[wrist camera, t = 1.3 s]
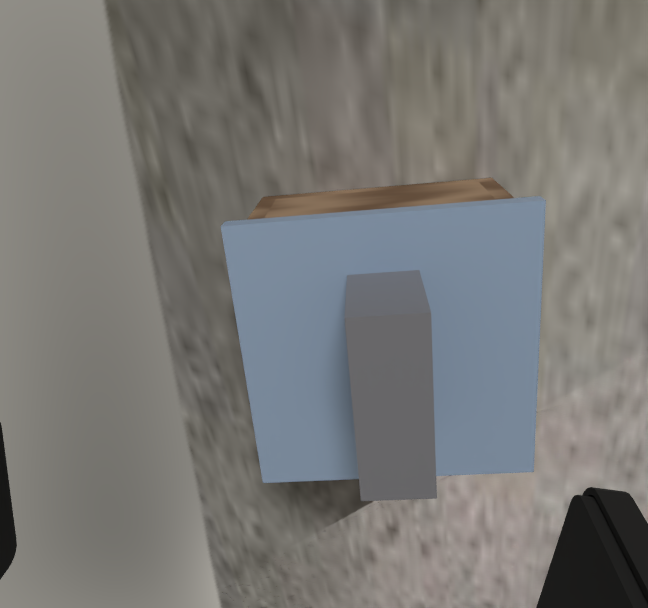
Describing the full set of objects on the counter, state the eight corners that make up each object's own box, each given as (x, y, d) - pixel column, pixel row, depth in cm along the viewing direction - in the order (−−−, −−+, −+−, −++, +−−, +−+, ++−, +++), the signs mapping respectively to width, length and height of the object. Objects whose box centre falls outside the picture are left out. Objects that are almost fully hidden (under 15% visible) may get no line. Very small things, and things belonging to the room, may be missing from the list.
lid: (530, 188, 25) (585, 230, 19) (521, 442, 30) (563, 543, 24) (231, 213, 27) (191, 260, 20) (269, 454, 31) (246, 553, 25)
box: (491, 177, 31) (527, 209, 24) (489, 381, 35) (518, 453, 29) (263, 196, 32) (238, 232, 25) (289, 391, 36) (274, 463, 30)
